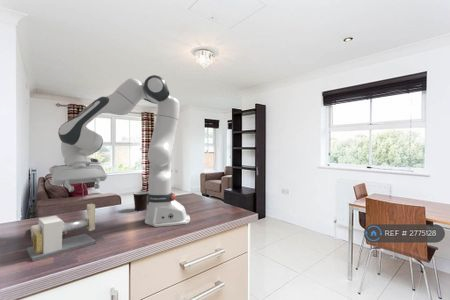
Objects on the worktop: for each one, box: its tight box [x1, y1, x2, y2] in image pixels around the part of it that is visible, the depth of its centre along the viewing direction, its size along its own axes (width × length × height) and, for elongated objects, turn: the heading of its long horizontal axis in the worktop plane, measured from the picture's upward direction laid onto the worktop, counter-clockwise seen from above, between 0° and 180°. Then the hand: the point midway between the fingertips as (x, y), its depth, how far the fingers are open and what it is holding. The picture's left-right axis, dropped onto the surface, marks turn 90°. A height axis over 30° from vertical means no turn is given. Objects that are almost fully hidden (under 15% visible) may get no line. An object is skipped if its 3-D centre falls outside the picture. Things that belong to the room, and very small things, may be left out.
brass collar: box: [32, 230, 43, 254], centre depth 76 cm, size 2×6×6 cm, turn 50°
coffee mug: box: [133, 191, 149, 212], centre depth 131 cm, size 12×9×10 cm
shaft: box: [62, 203, 96, 233], centre depth 83 cm, size 15×3×10 cm, turn 139°
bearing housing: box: [26, 215, 97, 262], centre depth 81 cm, size 18×11×11 cm, turn 139°
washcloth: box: [29, 219, 67, 242], centre depth 95 cm, size 12×18×3 cm, turn 44°
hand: (85, 189), depth 93 cm, fingers open, 8 cm apart
